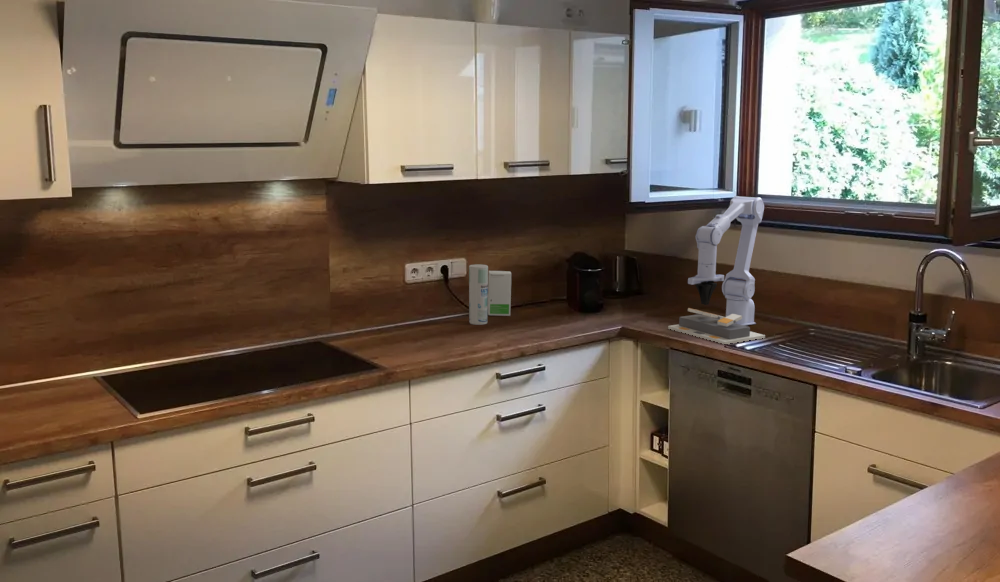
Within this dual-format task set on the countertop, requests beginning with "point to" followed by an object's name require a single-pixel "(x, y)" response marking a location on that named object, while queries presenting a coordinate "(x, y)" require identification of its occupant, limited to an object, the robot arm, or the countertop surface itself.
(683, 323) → the switch unit
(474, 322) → the spray can
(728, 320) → the block
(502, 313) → the skincare box
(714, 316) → the rocker
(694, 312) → the rocker
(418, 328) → the countertop surface
